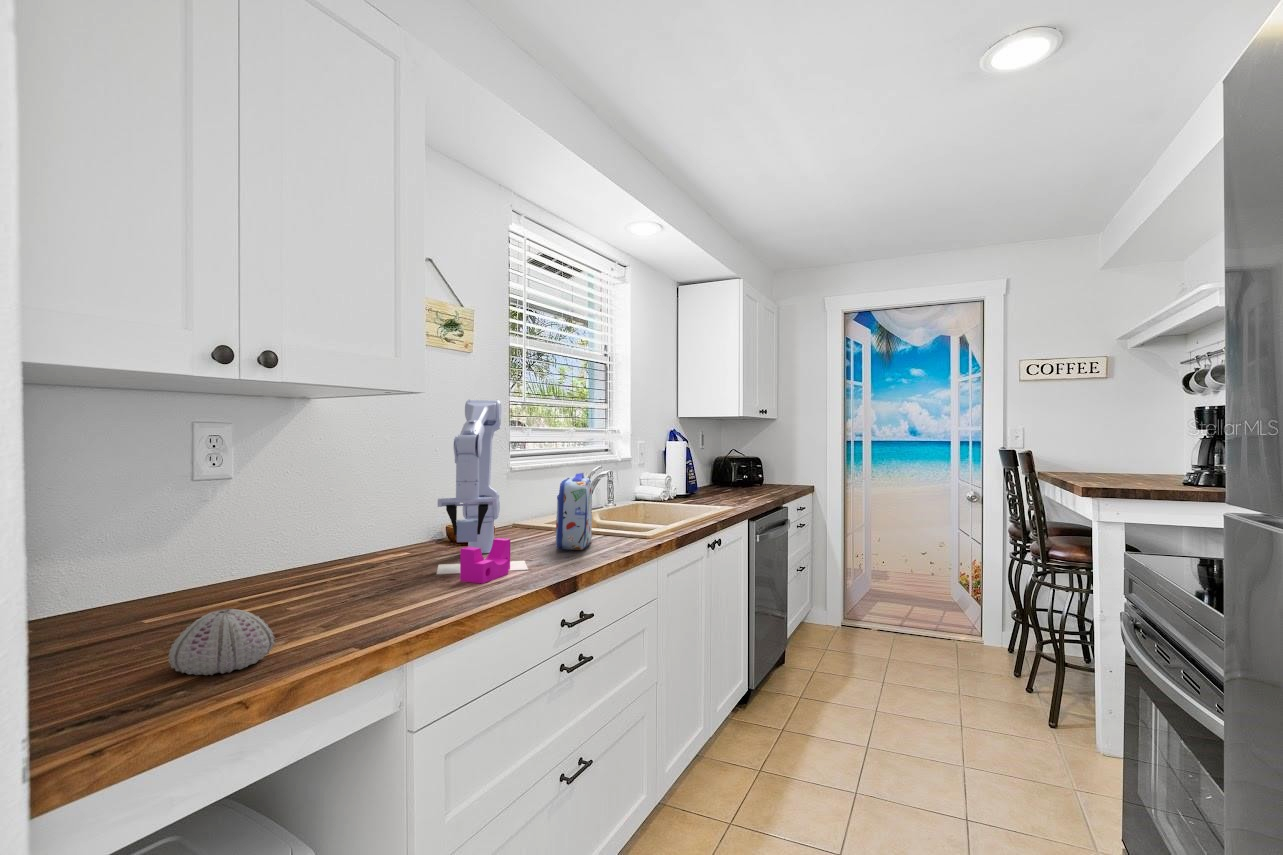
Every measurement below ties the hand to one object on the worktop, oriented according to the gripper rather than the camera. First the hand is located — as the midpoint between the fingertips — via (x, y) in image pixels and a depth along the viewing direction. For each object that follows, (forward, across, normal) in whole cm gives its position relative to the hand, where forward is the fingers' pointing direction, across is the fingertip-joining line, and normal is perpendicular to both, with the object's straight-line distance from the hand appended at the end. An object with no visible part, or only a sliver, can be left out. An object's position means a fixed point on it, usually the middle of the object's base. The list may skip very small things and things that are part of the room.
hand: (467, 534), depth 164 cm
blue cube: (+2, 0, 0) cm, 2 cm away
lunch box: (+9, +31, +25) cm, 41 cm away
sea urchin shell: (+9, -34, -62) cm, 71 cm away
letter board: (+8, +4, -2) cm, 9 cm away
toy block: (+8, +6, -11) cm, 15 cm away
